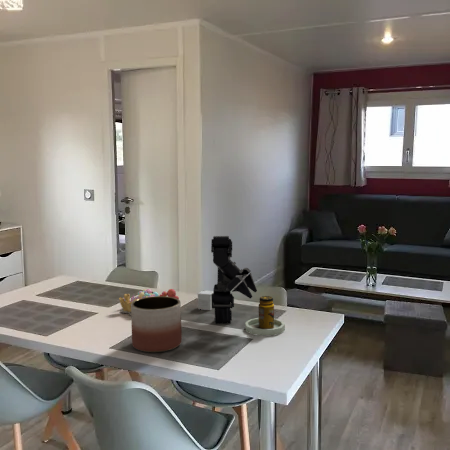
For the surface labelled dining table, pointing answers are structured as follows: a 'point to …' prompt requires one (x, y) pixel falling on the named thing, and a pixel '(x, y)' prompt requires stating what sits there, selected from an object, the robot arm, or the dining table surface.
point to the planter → (156, 323)
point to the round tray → (264, 332)
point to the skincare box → (205, 300)
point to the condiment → (266, 313)
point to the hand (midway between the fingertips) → (253, 294)
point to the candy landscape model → (126, 301)
